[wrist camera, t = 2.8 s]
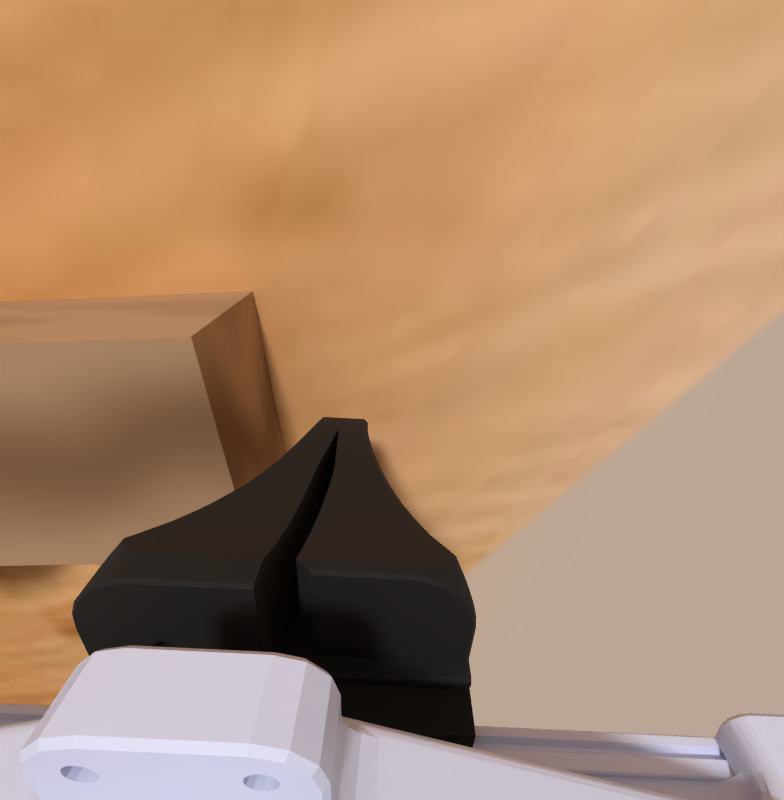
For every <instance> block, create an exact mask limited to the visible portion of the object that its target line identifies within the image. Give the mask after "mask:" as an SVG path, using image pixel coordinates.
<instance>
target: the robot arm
mask: <svg viewBox="0 0 784 800" xmlns="http://www.w3.org/2000/svg"><path fill="white" fill-rule="evenodd" d="M72 615H73V619H74V622H75V626H76V629H77V631H78V633H79V636H80V638H81V640H82V642H83V644H84V646H85V648H86V650H87V652H88V654H89V657H87V658H86V659H85V660H83V661H82V662H81V663H80V664H78V665H77V667H76V668H75V670H74V671H73V673H72V674H71V676H70V677H69V679H68V680H67V682H66V683H65V685H64V686H63V688H62V689H61V691H60V692H59V694H58V695H57V697H56V698H55V700H54V701H53V703H52V704H51V706H44V705H23V704H2V703H0V800H784V715H772V714H752V713H749V714H739V715H736V716H733V717H730V718H729V719H727V720H726V721H725V722H724V723H723V724H722V725H721V726H720V728H719V730H718V732H717V734H716V737H698V736H677V735H656V734H655V735H654V734H635V733H614V732H592V731H572V730H550V729H529V728H509V727H508V728H507V727H487V726H474V720H473V712H472V705H471V697H470V690H469V687H470V686H471V673H470V666H469V655H470V651H471V646H472V642H473V637H474V633H475V628H476V614H475V608H474V604H473V600H472V597H471V594H470V591H469V587H468V584H467V582H466V579H465V577H464V574H463V572H462V569H461V567H460V565H459V563H458V560H457V558H456V556H455V555H454V554H453V553H452V552H450V551H449V550H448V549H447V548H445V547H444V546H443V545H442V544H440V543H439V542H438V541H437V540H435V539H434V538H433V537H432V536H431V535H430V534H429V533H428V532H427V531H426V530H425V529H424V528H423V527H422V526H421V525H420V524H419V523H418V522H417V521H416V520H415V518H414V517H413V516H412V515H411V514H410V513H409V512H408V510H407V509H406V508H405V507H404V506H403V504H402V503H401V501H400V500H399V499H398V497H397V496H396V494H395V493H394V491H393V490H392V488H391V487H390V485H389V483H388V482H387V480H386V478H385V476H384V474H383V472H382V470H381V468H380V466H379V464H378V462H377V460H376V457H375V455H374V452H373V449H372V447H371V443H370V440H369V436H368V423H367V422H366V421H365V420H364V419H349V418H329V417H323V418H322V419H321V420H320V421H319V422H318V423H317V424H316V425H315V426H314V427H313V428H312V429H311V430H310V431H309V432H308V433H307V434H306V435H305V436H304V437H303V438H302V439H301V440H300V441H299V442H298V443H297V444H296V445H295V446H293V447H292V448H291V449H290V450H289V451H288V452H287V453H286V454H285V455H284V456H282V457H281V458H280V459H279V460H278V461H276V462H275V463H274V464H273V465H272V466H270V467H269V468H268V469H267V470H265V471H264V472H262V473H261V474H260V475H258V476H257V477H255V478H254V479H252V480H251V481H249V482H248V483H246V484H245V485H243V486H241V487H240V488H238V489H236V490H234V491H233V492H231V493H229V494H227V495H225V496H224V497H222V498H220V499H218V500H216V501H215V502H213V503H211V504H209V505H207V506H205V507H202V508H200V509H198V510H196V511H194V512H192V513H189V514H187V515H185V516H182V517H180V518H178V519H175V520H173V521H170V522H168V523H165V524H163V525H160V526H157V527H154V528H151V529H149V530H146V531H143V532H140V533H138V534H135V535H132V536H129V537H126V538H124V539H123V540H122V541H121V542H120V543H119V544H118V546H117V547H116V548H115V549H114V550H113V551H112V553H111V554H110V555H109V556H108V557H107V559H106V560H105V561H104V563H103V564H102V565H101V567H100V568H99V569H98V571H97V572H96V573H95V574H94V576H93V577H92V578H91V580H90V581H89V582H88V584H87V585H86V586H85V588H84V589H83V590H82V592H81V593H80V594H79V596H78V597H77V598H76V600H75V601H74V605H73V611H72Z"/></svg>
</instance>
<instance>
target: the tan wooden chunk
mask: <svg viewBox="0 0 784 800" xmlns="http://www.w3.org/2000/svg"><path fill="white" fill-rule="evenodd" d="M284 455H285V451H284V446H283V441H282V436H281V431H280V426H279V421H278V416H277V411H276V406H275V401H274V396H273V391H272V386H271V381H270V376H269V371H268V367H267V362H266V357H265V352H264V347H263V342H262V337H261V332H260V327H259V322H258V317H257V312H256V307H255V302H254V297H253V292H252V291H249V292H226V293H202V294H179V295H156V296H133V297H109V298H86V299H63V300H39V301H16V302H0V566H25V565H84V564H103V563H104V561H105V560H106V559H107V557H108V556H109V555H110V554H111V553H112V551H113V550H114V549H115V548H116V547H117V546H118V544H119V543H120V542H121V541H122V540H123V539H124V538H126V537H129V536H132V535H135V534H138V533H140V532H143V531H146V530H149V529H151V528H154V527H157V526H160V525H163V524H165V523H168V522H170V521H173V520H175V519H178V518H180V517H182V516H185V515H187V514H189V513H192V512H194V511H196V510H198V509H200V508H202V507H205V506H207V505H209V504H211V503H213V502H215V501H216V500H218V499H220V498H222V497H224V496H225V495H227V494H229V493H231V492H233V491H234V490H236V489H238V488H240V487H241V486H243V485H245V484H246V483H248V482H249V481H251V480H252V479H254V478H255V477H257V476H258V475H260V474H261V473H262V472H264V471H265V470H267V469H268V468H269V467H270V466H272V465H273V464H274V463H275V462H276V461H278V460H279V459H280V458H281V457H282V456H284Z"/></svg>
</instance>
